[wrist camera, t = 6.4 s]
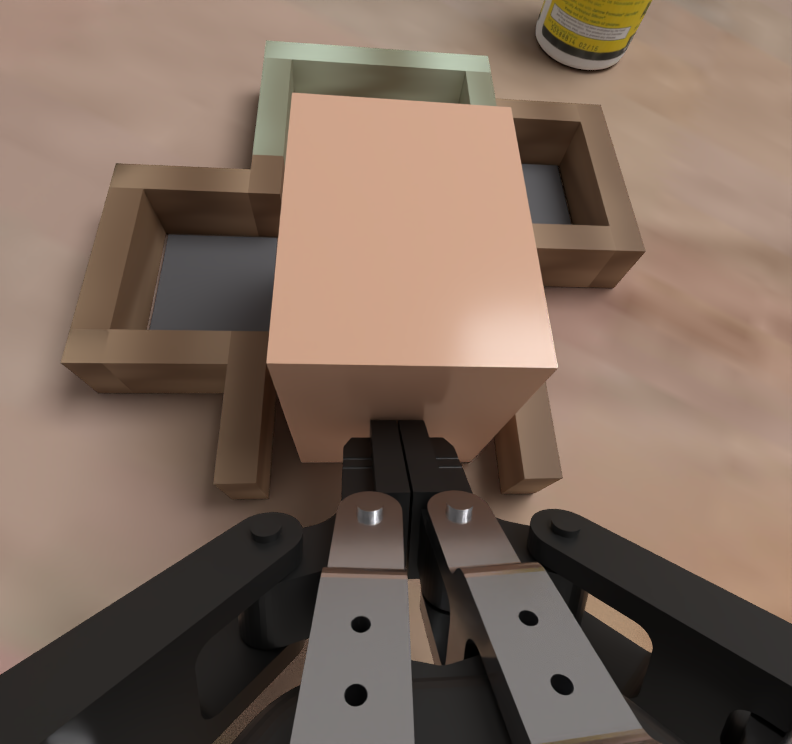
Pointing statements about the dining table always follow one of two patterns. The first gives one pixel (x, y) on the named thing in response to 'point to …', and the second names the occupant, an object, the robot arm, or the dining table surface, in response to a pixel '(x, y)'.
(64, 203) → the dining table surface
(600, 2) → the supplement bottle
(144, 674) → the robot arm
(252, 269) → the mats
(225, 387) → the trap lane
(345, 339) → the brick
